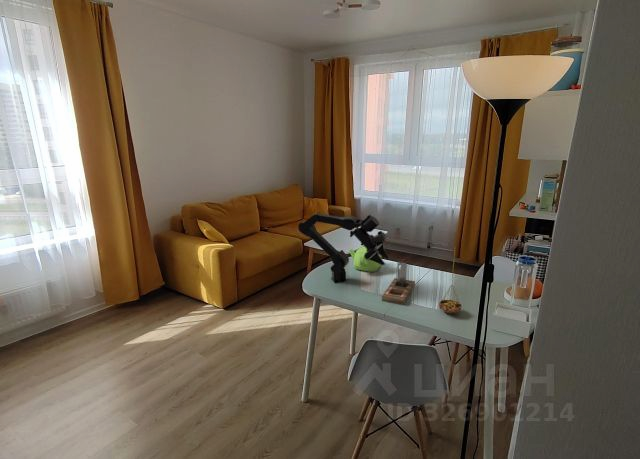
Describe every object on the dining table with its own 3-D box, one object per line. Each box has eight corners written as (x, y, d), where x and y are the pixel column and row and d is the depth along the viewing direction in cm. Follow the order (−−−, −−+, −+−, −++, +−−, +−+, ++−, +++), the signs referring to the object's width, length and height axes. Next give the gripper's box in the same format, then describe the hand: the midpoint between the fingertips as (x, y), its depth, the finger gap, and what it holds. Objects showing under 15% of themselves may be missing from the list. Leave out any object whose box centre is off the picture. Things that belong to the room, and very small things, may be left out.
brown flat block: (403, 305, 152) (403, 299, 151) (381, 300, 156) (381, 295, 155) (414, 286, 171) (414, 281, 170) (394, 282, 175) (394, 277, 174)
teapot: (342, 271, 191) (342, 249, 188) (355, 260, 208) (356, 239, 205) (374, 276, 183) (374, 253, 180) (385, 264, 200) (385, 243, 197)
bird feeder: (462, 318, 140) (469, 248, 132) (439, 316, 142) (445, 247, 134) (458, 308, 148) (464, 241, 140) (437, 306, 150) (442, 241, 142)
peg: (399, 291, 165) (401, 266, 162) (395, 287, 169) (396, 263, 165) (407, 290, 166) (408, 265, 163) (402, 286, 170) (404, 262, 167)
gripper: (371, 232, 156) (394, 258, 155) (380, 222, 173) (401, 245, 172) (354, 247, 161) (377, 272, 160) (365, 236, 178) (385, 258, 177)
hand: (386, 261), depth 167 cm, fingers open, 9 cm apart
